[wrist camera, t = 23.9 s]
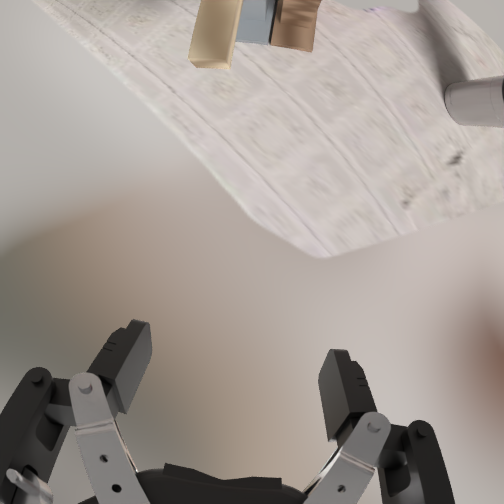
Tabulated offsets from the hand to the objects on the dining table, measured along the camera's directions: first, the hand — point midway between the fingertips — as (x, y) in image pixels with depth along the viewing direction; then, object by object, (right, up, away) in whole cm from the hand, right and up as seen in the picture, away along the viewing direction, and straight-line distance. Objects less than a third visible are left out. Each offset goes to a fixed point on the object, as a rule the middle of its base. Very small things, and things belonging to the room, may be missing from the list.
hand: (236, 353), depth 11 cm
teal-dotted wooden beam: (-1, +32, +3) cm, 32 cm away
